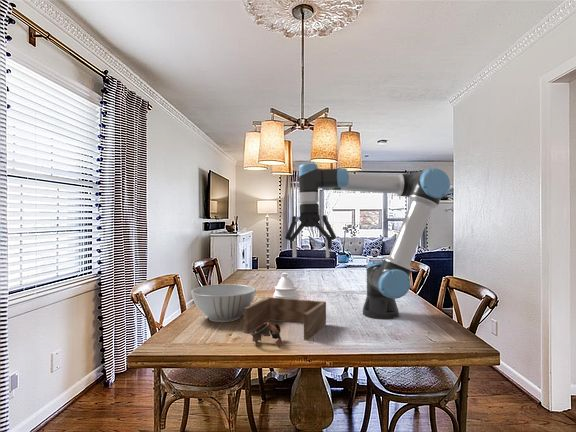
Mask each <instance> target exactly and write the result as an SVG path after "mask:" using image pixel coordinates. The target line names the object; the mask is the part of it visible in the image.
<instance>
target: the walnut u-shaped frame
mask: <svg viewBox="0 0 576 432" xmlns="http://www.w3.org/2000/svg"><path fill="white" fill-rule="evenodd" d="M326 313H327V302H326V301H322V300H320V301H319V300H310V299H309V300H307V299H300V298H299V299H287V298H274V297H273V296H267V297H265V298H263V299H261V300H259V301H256V302H254V303H251V305H250V306H247V307H245V308H244V313H243V333H244V334H245V333H246V334H248V333H250V332H251V331H252V332H253V331H254V330H255V329H256V328H258V327H259V326H260V325H262V324H264V323H267V322H270V321H279V322H288V323H296V322H297V323H298V324H303V341H309V340H311V338H313V337H314V336H315V335H316V334H317V333H318V332H319V331H321V330H322V329H323V328H324V327H325V326H326V324H327V314H326Z"/></svg>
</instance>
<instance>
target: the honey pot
mask: <svg viewBox="0 0 576 432" xmlns="http://www.w3.org/2000/svg"><path fill="white" fill-rule="evenodd" d="M288 274H289V273H288V272H282V273H281V278H279V281H278V283H277V285H276V286H274V289H275V291H274V293H273V296H272V297H274V298H287V299H299V300H300V297H299V294H298V292H297V290H298V286H297V285H295V284H294V282H293V280H292V279H291V278H290V276H288Z"/></svg>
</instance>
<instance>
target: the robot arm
mask: <svg viewBox="0 0 576 432" xmlns="http://www.w3.org/2000/svg"><path fill="white" fill-rule="evenodd" d="M348 171H349V170H348V169H347V168H341V167H338V168H337V167H336V168H319V167H318V164H317V163H303V164H300V165H299V166H298V189H299V191H298V192H299V193H298V195H299V196H298V197H299V203H300V205H299V216H296V215H293V216H292V217H291V223H290V225H289V228H288V230H287V233H286V235H285V237H284V238H285V240H287V241H289V248H290V250H291V251H292V258H297V256H298V255H297V254H298V253H297V240H296V238H297V236H299V234H300V233H301V232H302V230H303V229H304V228H316V229H318V231H319V232H320V233H321V234H322V236H323V237H324V238H325V239H326V240H325V258H328V259H329V258H330V249H331V250H332V247H333V246H332V245H333V244H332V243H333V242H332V241H333V240H335V239H336V238H337V235H336V233H335V232H334V229H333V228H332V226H331V224H330V221H329V220H328V215H326V214H324V215H320V205H319V201H320V200H319V199H320V198H319V189H322V190H324V191H345V192H346V191H348V192H350V191H351V192H361V193H362V192H364V193H381V194H396V195H397V196H398V197H404V198H405V197H407V198H409V200H410V204H409V207H408V208H407V210H406V214H405V216H404V219H403V221H402V224H401V226H400V228H399V231H398V234H397V236H396V237H395V238H396V239H395V241H394V243H393V246H392V249H391V251H390V254H389V255H388V256H387V257H385V258H383V260H382V261H368V262H367V263H366V268H365V269H366V298H365V301H364V303H363V307H362V315H363V316H365V317H367V318H370V319H371V318H372V319H380V320H381V319H382V320H390V319H396V318H398V317H399V312H400V311H399V307H398V305H397V301H396V299H397V300H398V299H401V298H403V297H404V296H406V294H408V292H409V290H410V288H411V279H410V276H411V273H412V271H413V269H412V267H411V263H412V260H413V258H414V256H415V253H416V250H417V248H418V245H419V243H420V241H421V238H422V237H423V236H422V235H423V233H424V230H425V228H426V225H427V223H428V220H429V218H430V215H431V214H432V211H433V209H436V208H437V207H439V205H440V204H439V203H440V202H441V199H442V198H443V197H445V196H446V195H447V194H448V192H449V191H450V189H451V180H450V177H449V176H448V174H447V173H446V172H445V171H444V170H442V169H440V168H436V167H434V168H431V167H430V168H427V169H425V170H422V171H421V170H420V171H417V172H413V173H399V174H398V175H383V174H368V173H367V174H365V173H364V174H363V173H349V172H348ZM320 220H321V222H323V224H324V226H325V228H326V230H327V231H326V230H325V228H324V227H323V226H322V225H321V223H320ZM297 222H300V224H299V225H298V227H297V229H296V230H295V228H296V225H297ZM294 230H295V231H294Z"/></svg>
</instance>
